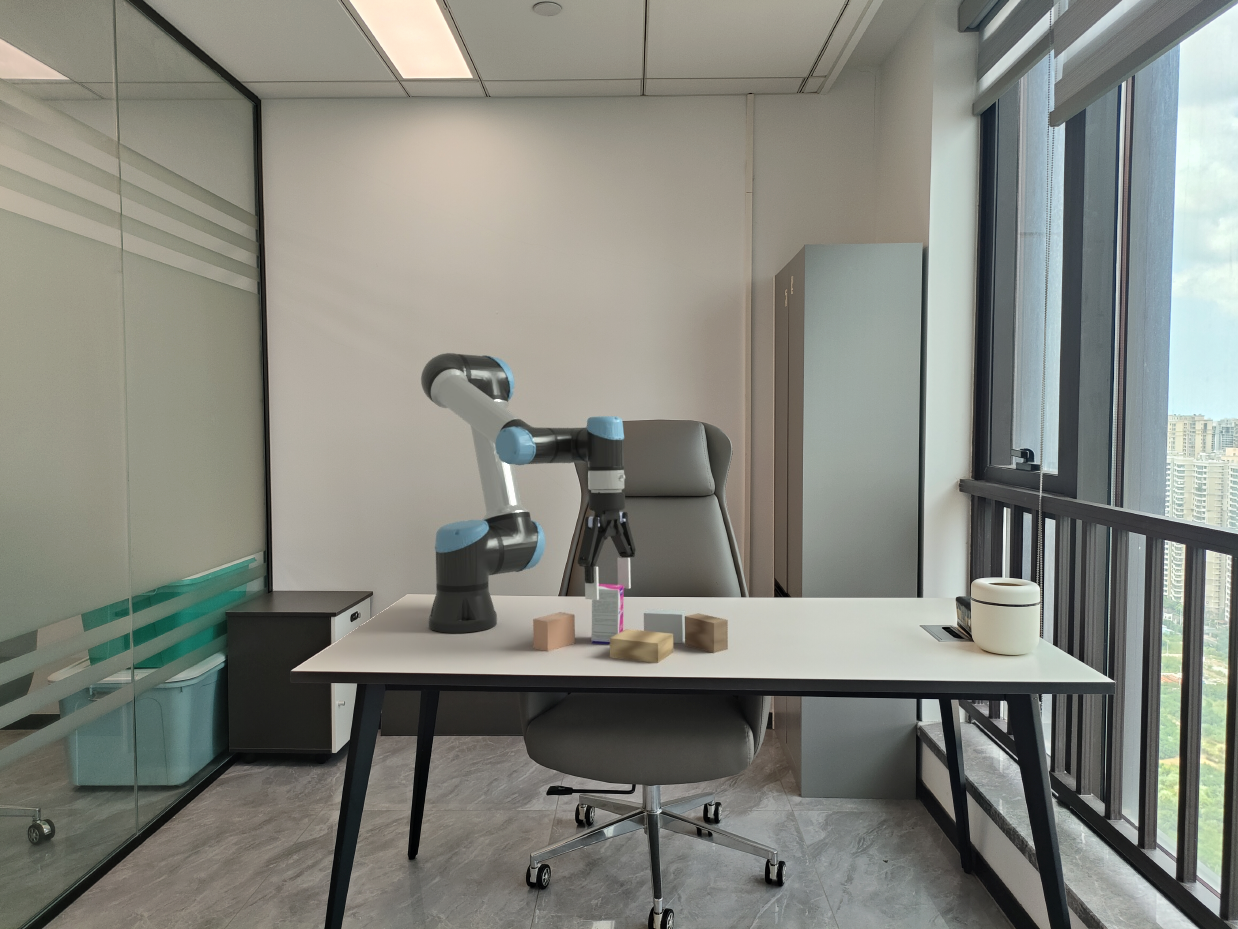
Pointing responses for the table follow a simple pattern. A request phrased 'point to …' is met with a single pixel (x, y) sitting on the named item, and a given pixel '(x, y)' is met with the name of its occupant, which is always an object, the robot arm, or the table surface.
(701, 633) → the walnut brick
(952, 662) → the table surface
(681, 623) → the grey painted brick
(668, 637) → the oak block
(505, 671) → the table surface
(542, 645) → the terracotta brick
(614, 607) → the supplement box
